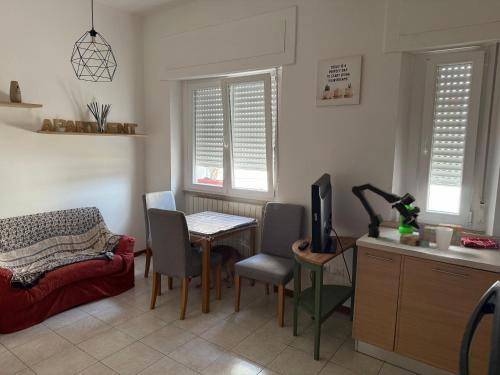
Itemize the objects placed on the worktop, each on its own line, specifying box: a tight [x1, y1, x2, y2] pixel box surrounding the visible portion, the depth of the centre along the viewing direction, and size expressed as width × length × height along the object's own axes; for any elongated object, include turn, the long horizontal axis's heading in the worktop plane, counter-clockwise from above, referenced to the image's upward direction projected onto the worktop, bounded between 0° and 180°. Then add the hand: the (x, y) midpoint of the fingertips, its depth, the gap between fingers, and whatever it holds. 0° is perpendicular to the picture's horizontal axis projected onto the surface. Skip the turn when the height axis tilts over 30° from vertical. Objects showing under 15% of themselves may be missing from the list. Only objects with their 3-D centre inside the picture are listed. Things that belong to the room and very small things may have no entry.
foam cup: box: [435, 226, 453, 252], centre depth 214 cm, size 10×9×13 cm
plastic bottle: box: [398, 204, 414, 236], centre depth 245 cm, size 10×10×25 cm
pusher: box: [418, 222, 426, 238], centre depth 221 cm, size 2×6×9 cm, turn 141°
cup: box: [418, 239, 431, 248], centre depth 221 cm, size 6×6×4 cm
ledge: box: [399, 233, 425, 247], centre depth 225 cm, size 12×10×5 cm
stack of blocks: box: [424, 223, 463, 246], centre depth 230 cm, size 21×6×12 cm, turn 67°
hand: (419, 229), depth 222 cm, fingers closed, pressing on pusher
